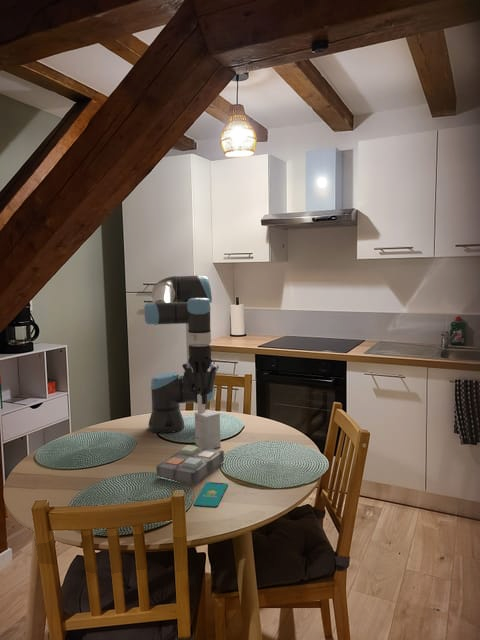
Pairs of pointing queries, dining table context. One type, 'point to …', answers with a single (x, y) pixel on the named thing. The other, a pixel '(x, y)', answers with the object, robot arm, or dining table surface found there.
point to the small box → (207, 429)
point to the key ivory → (206, 454)
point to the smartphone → (211, 494)
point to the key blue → (192, 463)
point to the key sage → (190, 450)
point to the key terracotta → (175, 461)
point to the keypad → (189, 474)
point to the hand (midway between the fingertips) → (201, 412)
